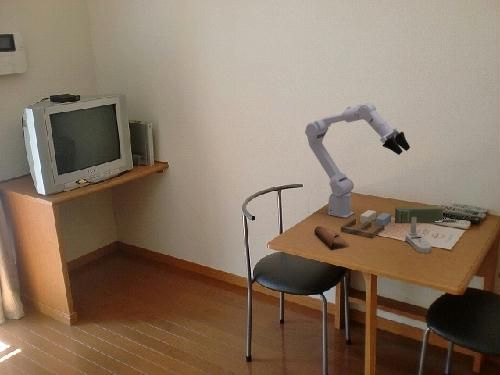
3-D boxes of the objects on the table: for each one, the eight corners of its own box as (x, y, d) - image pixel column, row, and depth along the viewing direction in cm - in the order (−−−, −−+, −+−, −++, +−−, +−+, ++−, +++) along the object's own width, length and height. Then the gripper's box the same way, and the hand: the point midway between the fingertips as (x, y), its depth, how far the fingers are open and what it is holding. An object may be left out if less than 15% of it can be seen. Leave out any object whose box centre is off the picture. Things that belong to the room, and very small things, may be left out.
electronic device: (421, 230, 196) (404, 215, 210) (419, 255, 199) (403, 238, 213) (435, 229, 197) (417, 214, 211) (433, 253, 200) (416, 237, 214)
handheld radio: (394, 220, 233) (454, 220, 230) (395, 223, 230) (456, 223, 227) (395, 206, 231) (455, 205, 228) (396, 209, 228) (457, 208, 225)
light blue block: (383, 227, 226) (383, 219, 225) (375, 225, 228) (375, 218, 227) (391, 221, 232) (391, 214, 231) (383, 220, 234) (383, 212, 233)
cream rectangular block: (367, 224, 230) (367, 216, 229) (360, 222, 232) (360, 215, 231) (376, 218, 236) (376, 211, 235) (368, 217, 238) (368, 210, 237)
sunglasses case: (352, 246, 207) (343, 234, 205) (337, 257, 207) (329, 245, 204) (333, 230, 224) (325, 218, 221) (319, 241, 223) (311, 229, 221)
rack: (340, 231, 223) (340, 226, 223) (353, 223, 231) (353, 218, 231) (372, 238, 215) (372, 233, 214) (384, 229, 223) (384, 224, 222)
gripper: (380, 123, 213) (404, 148, 209) (395, 117, 223) (418, 141, 220) (368, 135, 217) (392, 160, 214) (384, 129, 228) (406, 152, 224)
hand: (404, 151), depth 217 cm, fingers open, 7 cm apart
